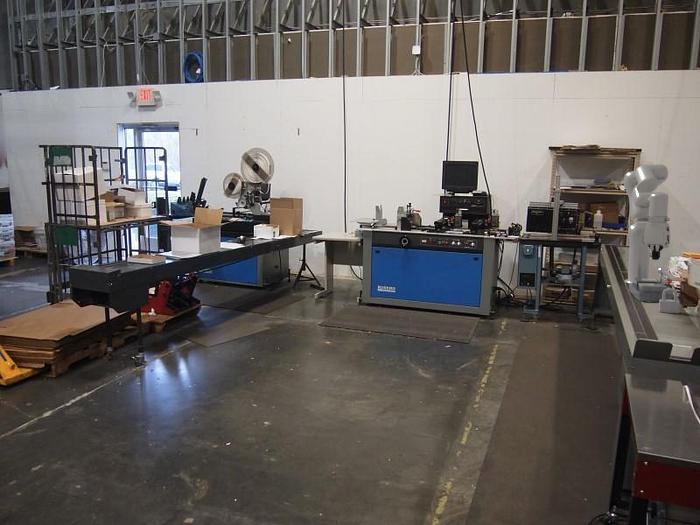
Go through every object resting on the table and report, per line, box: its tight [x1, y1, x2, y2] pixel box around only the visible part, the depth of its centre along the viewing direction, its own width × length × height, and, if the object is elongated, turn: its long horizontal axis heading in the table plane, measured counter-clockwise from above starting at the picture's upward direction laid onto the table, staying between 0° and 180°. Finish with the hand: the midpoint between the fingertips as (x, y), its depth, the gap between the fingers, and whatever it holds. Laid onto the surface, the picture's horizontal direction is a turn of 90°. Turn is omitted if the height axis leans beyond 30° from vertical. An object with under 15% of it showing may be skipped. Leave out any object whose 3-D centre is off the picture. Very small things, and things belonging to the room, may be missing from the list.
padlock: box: [658, 287, 681, 314], centre depth 222 cm, size 7×4×10 cm, turn 64°
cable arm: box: [657, 267, 678, 285], centre depth 253 cm, size 27×3×10 cm, turn 161°
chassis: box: [628, 278, 673, 303], centre depth 252 cm, size 26×13×7 cm, turn 162°
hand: (655, 259), depth 251 cm, fingers closed
